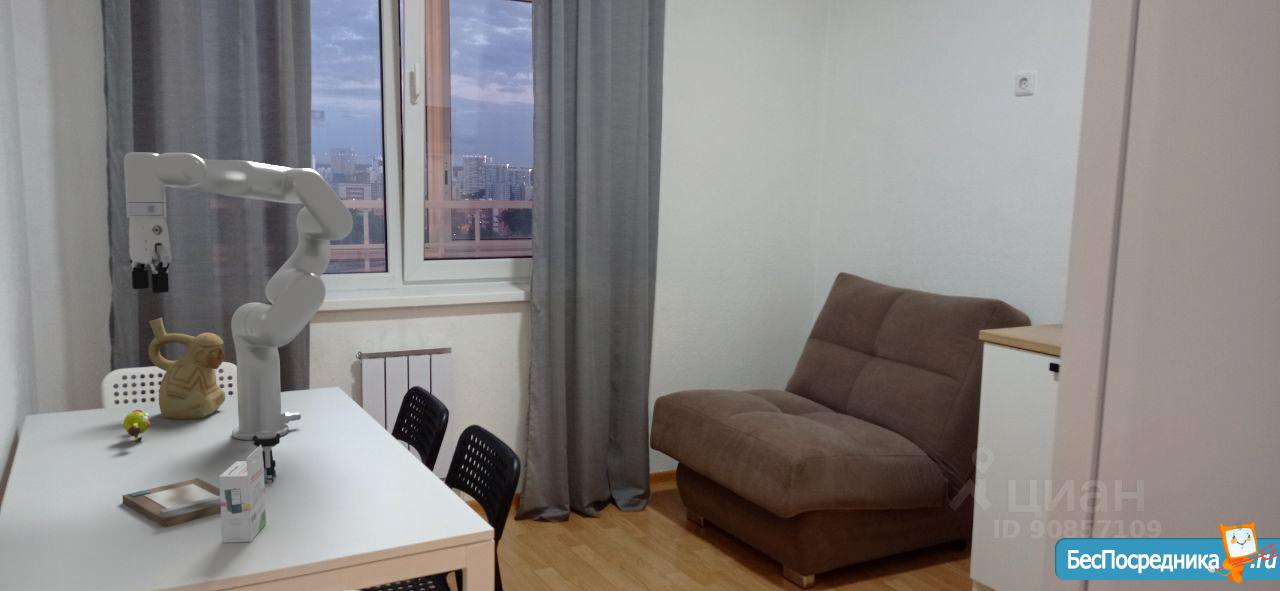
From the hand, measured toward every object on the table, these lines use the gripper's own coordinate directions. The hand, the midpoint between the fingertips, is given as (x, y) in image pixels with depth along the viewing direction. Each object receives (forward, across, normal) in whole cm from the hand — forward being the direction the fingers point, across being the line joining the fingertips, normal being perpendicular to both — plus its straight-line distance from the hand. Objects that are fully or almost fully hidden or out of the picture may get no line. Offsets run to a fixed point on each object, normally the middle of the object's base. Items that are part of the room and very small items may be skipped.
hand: (150, 290), depth 199 cm
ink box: (+37, -57, +10) cm, 69 cm away
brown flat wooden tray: (+37, -35, +11) cm, 52 cm away
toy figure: (+37, +16, -2) cm, 40 cm away
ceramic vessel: (+37, +31, -21) cm, 53 cm away
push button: (+37, -34, -7) cm, 50 cm away
